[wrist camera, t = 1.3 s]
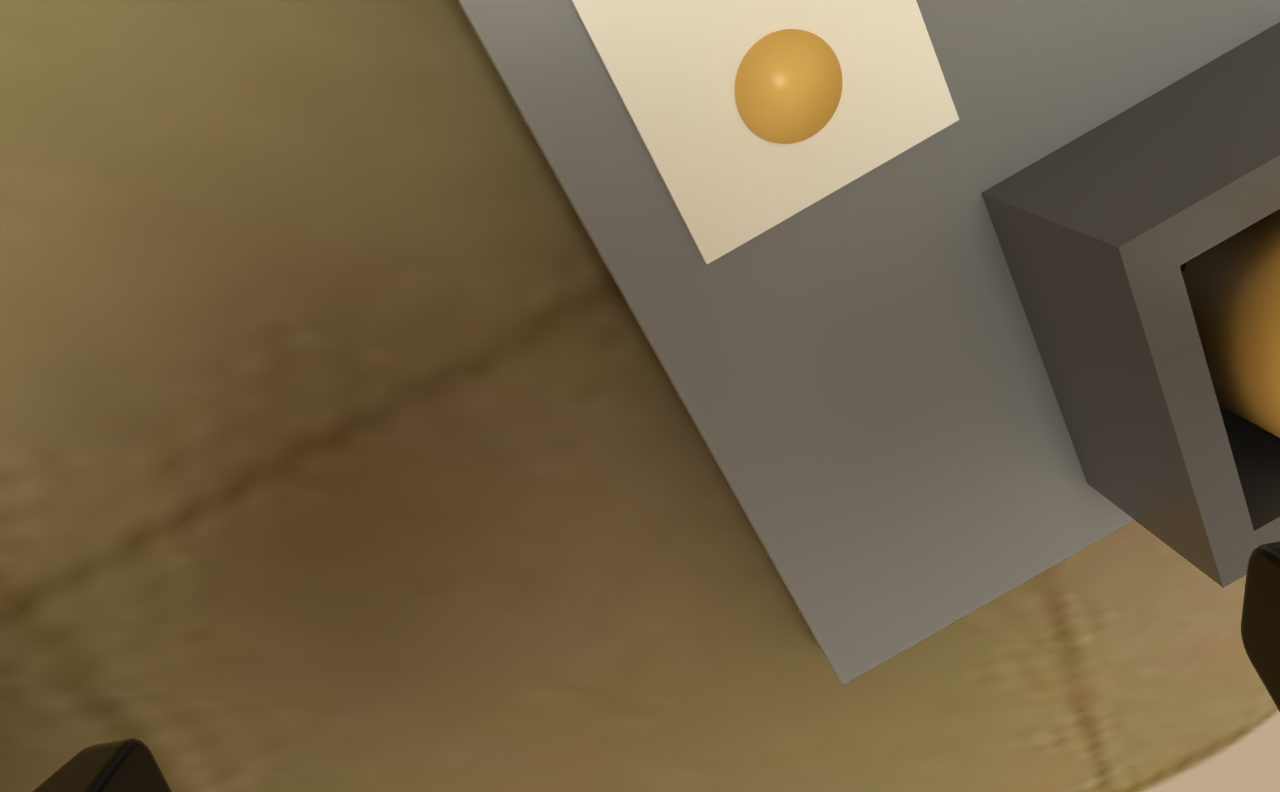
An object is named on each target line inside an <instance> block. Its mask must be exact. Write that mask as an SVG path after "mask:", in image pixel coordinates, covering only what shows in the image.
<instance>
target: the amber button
mask: <svg viewBox="0 0 1280 792" xmlns="http://www.w3.org/2000/svg"><path fill="white" fill-rule="evenodd" d="M1182 276H1183V280H1184V283H1185V287H1186V291H1187V294H1188V298H1189V301H1190V305H1191V308H1192V312H1193V315H1194V319H1195V323H1196V326H1197V330H1198V333H1199V337H1200V340H1201V344H1202V347H1203V351H1204V355H1205V358H1206V362H1207V365H1208V369H1209V372H1210V376H1211V379H1212V383H1213V387H1214V390H1215V394H1216V397H1217V401H1218V404H1219V405H1220V406H1222V407H1224V408H1226V409H1227V410H1229V411H1231V412H1233V413H1235V414H1237V415H1238V416H1240V417H1242V418H1244V419H1246V420H1248V421H1249V422H1251V423H1253V424H1255V425H1257V426H1259V427H1261V428H1262V429H1264V430H1266V431H1268V432H1270V433H1272V434H1273V435H1275V436H1277V437H1279V438H1280V209H1279V210H1277V211H1275V212H1273V213H1272V214H1270V215H1268V216H1266V217H1265V218H1263V219H1261V220H1259V221H1258V222H1256V223H1254V224H1252V225H1251V226H1249V227H1247V228H1245V229H1244V230H1242V231H1240V232H1238V233H1236V234H1235V235H1233V236H1231V237H1229V238H1228V239H1226V240H1224V241H1222V242H1221V243H1219V244H1217V245H1215V246H1214V247H1212V248H1210V249H1208V250H1207V251H1205V252H1203V253H1201V254H1200V255H1198V256H1196V257H1194V258H1193V259H1191V260H1189V261H1188V262H1187V264H1186V267H1185V269H1184V272H1183V274H1182Z"/></svg>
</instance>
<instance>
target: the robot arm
mask: <svg viewBox="0 0 1280 792" xmlns="http://www.w3.org/2000/svg"><path fill="white" fill-rule="evenodd" d="M1241 634H1242V640H1243V644H1244V647H1245V650H1246V653H1247V655H1248V657H1249V659H1250V661H1251V663H1252V664H1253V666H1254V668H1255V670H1256V671H1257V673H1258V675H1259V677H1260V678H1261V680H1262V682H1263V684H1264V685H1265V687H1266V689H1267V691H1268V692H1269V694H1270V696H1271V697H1272V699H1273V701H1274V703H1275V704H1276V706H1277V708H1278V710H1279V711H1280V541H1279V542H1274V543H1268V544H1263V545H1260V546H1259V547H1257V548H1255V549H1254V550H1253V551H1252V553H1251V555H1250V557H1249V561H1248V566H1247V575H1246V584H1245V593H1244V602H1243V611H1242V620H1241ZM33 792H172V791H171V789H170V787H169V786H168V784H167V782H166V780H165V778H164V776H163V774H162V772H161V770H160V768H159V766H158V764H157V762H156V761H155V759H154V757H153V755H152V753H151V751H150V750H149V748H148V747H147V745H145V744H144V743H143V742H142V741H140V740H137V739H125V740H119V741H113V742H108V743H102V744H96V745H93V746H89V747H87V748H85V749H83V750H82V751H81V752H79V753H78V754H77V755H76V756H74V757H73V758H72V759H71V760H70V761H68V762H67V763H66V764H65V765H64V766H62V767H61V768H60V769H59V770H58V771H56V772H55V773H54V774H53V775H52V776H51V777H49V778H48V779H47V780H46V781H45V782H43V783H42V784H41V785H40V786H39V787H37V788H36V789H35V790H34V791H33Z"/></svg>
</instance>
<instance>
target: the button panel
mask: <svg viewBox="0 0 1280 792" xmlns="http://www.w3.org/2000/svg"><path fill="white" fill-rule="evenodd" d="M457 2H458V3H459V5H460V7H461V9H462V10H463V12H464V14H465V16H466V18H467V19H468V21H469V23H470V25H471V27H472V28H473V30H474V32H475V34H476V35H477V37H478V39H479V41H480V43H481V44H482V46H483V48H484V50H485V52H486V53H487V55H488V57H489V59H490V60H491V62H492V64H493V66H494V68H495V69H496V71H497V73H498V75H499V76H500V78H501V80H502V82H503V84H504V85H505V87H506V89H507V91H508V93H509V94H510V96H511V98H512V100H513V101H514V103H515V105H516V107H517V109H518V110H519V112H520V114H521V116H522V118H523V119H524V121H525V123H526V125H527V126H528V128H529V130H530V132H531V134H532V135H533V137H534V139H535V141H536V142H537V144H538V146H539V148H540V150H541V151H542V153H543V155H544V157H545V159H546V160H547V162H548V164H549V166H550V167H551V169H552V171H553V173H554V175H555V176H556V178H557V180H558V182H559V183H560V185H561V187H562V189H563V191H564V192H565V194H566V196H567V198H568V200H569V201H570V203H571V205H572V207H573V208H574V210H575V212H576V214H577V216H578V217H579V219H580V221H581V223H582V225H583V226H584V228H585V230H586V232H587V233H588V235H589V237H590V239H591V241H592V242H593V244H594V246H595V248H596V249H597V251H598V253H599V255H600V257H601V258H602V260H603V262H604V264H605V266H606V267H607V269H608V271H609V273H610V274H611V276H612V278H613V280H614V282H615V283H616V285H617V287H618V289H619V291H620V292H621V294H622V296H623V298H624V299H625V301H626V303H627V305H628V307H629V308H630V310H631V312H632V314H633V315H634V317H635V319H636V321H637V323H638V324H639V326H640V328H641V330H642V332H643V333H644V335H645V337H646V339H647V340H648V342H649V344H650V346H651V348H652V349H653V351H654V353H655V355H656V356H657V358H658V360H659V362H660V364H661V365H662V367H663V369H664V371H665V373H666V374H667V376H668V378H669V380H670V381H671V383H672V385H673V387H674V389H675V390H676V392H677V394H678V396H679V398H680V399H681V401H682V403H683V405H684V406H685V408H686V410H687V412H688V414H689V415H690V417H691V419H692V421H693V422H694V424H695V426H696V428H697V430H698V431H699V433H700V435H701V437H702V439H703V440H704V442H705V444H706V446H707V447H708V449H709V451H710V453H711V455H712V456H713V458H714V460H715V462H716V464H717V465H718V467H719V469H720V471H721V472H722V474H723V476H724V478H725V480H726V481H727V483H728V485H729V487H730V488H731V490H732V492H733V494H734V496H735V497H736V499H737V501H738V503H739V505H740V506H741V508H742V510H743V512H744V513H745V515H746V517H747V519H748V521H749V522H750V524H751V526H752V528H753V529H754V531H755V533H756V535H757V537H758V538H759V540H760V542H761V544H762V546H763V547H764V549H765V551H766V553H767V554H768V556H769V558H770V560H771V562H772V563H773V565H774V567H775V569H776V571H777V572H778V574H779V576H780V578H781V579H782V581H783V583H784V585H785V587H786V588H787V590H788V592H789V594H790V595H791V597H792V599H793V601H794V603H795V604H796V606H797V608H798V610H799V612H800V613H801V615H802V617H803V619H804V620H805V622H806V624H807V626H808V628H809V629H810V631H811V633H812V635H813V637H814V638H815V640H816V642H817V644H818V645H819V647H820V649H821V650H822V652H823V654H824V655H825V657H826V659H827V660H828V662H829V664H830V665H831V667H832V669H833V670H834V672H835V674H836V675H837V677H838V679H839V680H840V682H841V684H842V685H845V684H846V683H848V682H850V681H852V680H853V679H855V678H857V677H859V676H860V675H862V674H864V673H866V672H867V671H869V670H871V669H873V668H875V667H876V666H878V665H880V664H882V663H883V662H885V661H887V660H889V659H890V658H892V657H894V656H896V655H897V654H899V653H901V652H903V651H905V650H906V649H908V648H910V647H912V646H913V645H915V644H917V643H919V642H920V641H922V640H924V639H926V638H927V637H929V636H931V635H933V634H934V633H936V632H938V631H940V630H942V629H943V628H945V627H947V626H949V625H950V624H952V623H954V622H956V621H957V620H959V619H961V618H963V617H964V616H966V615H968V614H970V613H972V612H973V611H975V610H977V609H979V608H980V607H982V606H984V605H986V604H987V603H989V602H991V601H993V600H994V599H996V598H998V597H1000V596H1002V595H1003V594H1005V593H1007V592H1009V591H1010V590H1012V589H1014V588H1016V587H1017V586H1019V585H1021V584H1023V583H1024V582H1026V581H1028V580H1030V579H1032V578H1033V577H1035V576H1037V575H1039V574H1040V573H1042V572H1044V571H1046V570H1047V569H1049V568H1051V567H1053V566H1054V565H1056V564H1058V563H1060V562H1061V561H1063V560H1065V559H1067V558H1069V557H1070V556H1072V555H1074V554H1076V553H1077V552H1079V551H1081V550H1083V549H1084V548H1086V547H1088V546H1090V545H1091V544H1093V543H1095V542H1097V541H1099V540H1100V539H1102V538H1104V537H1106V536H1107V535H1109V534H1111V533H1113V532H1114V531H1116V530H1118V529H1120V528H1121V527H1123V526H1125V525H1127V524H1129V523H1130V522H1132V521H1134V520H1135V521H1137V522H1138V523H1139V524H1141V525H1142V526H1143V527H1145V528H1146V529H1147V530H1149V531H1150V532H1151V533H1152V534H1154V535H1155V536H1156V537H1158V538H1159V539H1160V540H1162V541H1163V542H1164V543H1166V544H1167V545H1168V546H1170V547H1171V548H1172V549H1173V550H1175V551H1176V552H1177V553H1179V554H1180V555H1181V556H1183V557H1184V558H1185V559H1187V560H1188V561H1189V562H1190V563H1192V564H1193V565H1194V566H1196V567H1197V568H1198V569H1200V570H1201V571H1202V572H1204V573H1205V574H1206V575H1207V576H1209V577H1210V578H1211V579H1213V580H1214V581H1215V582H1217V583H1218V584H1219V585H1221V586H1222V587H1225V586H1227V585H1229V584H1230V583H1232V582H1234V581H1236V580H1237V579H1239V578H1241V577H1243V576H1244V575H1246V574H1247V566H1248V561H1249V557H1250V555H1251V553H1252V551H1253V550H1254V549H1255V548H1257V547H1259V546H1260V545H1263V544H1268V543H1274V542H1279V541H1280V438H1279V437H1277V436H1275V435H1273V434H1272V433H1270V432H1268V431H1266V430H1264V429H1262V428H1261V427H1259V426H1257V425H1255V424H1253V423H1251V422H1249V421H1248V420H1246V419H1244V418H1242V417H1240V416H1238V415H1237V414H1235V413H1233V412H1231V411H1229V410H1227V409H1226V408H1224V407H1222V406H1220V405H1219V404H1218V401H1217V397H1216V394H1215V390H1214V387H1213V383H1212V379H1211V376H1210V372H1209V369H1208V365H1207V362H1206V358H1205V355H1204V351H1203V347H1202V344H1201V340H1200V337H1199V333H1198V330H1197V326H1196V323H1195V319H1194V315H1193V312H1192V308H1191V305H1190V301H1189V298H1188V294H1187V291H1186V287H1185V283H1184V280H1183V276H1182V274H1183V272H1184V269H1185V267H1186V264H1187V262H1188V261H1189V260H1191V259H1193V258H1194V257H1196V256H1198V255H1200V254H1201V253H1203V252H1205V251H1207V250H1208V249H1210V248H1212V247H1214V246H1215V245H1217V244H1219V243H1221V242H1222V241H1224V240H1226V239H1228V238H1229V237H1231V236H1233V235H1235V234H1236V233H1238V232H1240V231H1242V230H1244V229H1245V228H1247V227H1249V226H1251V225H1252V224H1254V223H1256V222H1258V221H1259V220H1261V219H1263V218H1265V217H1266V216H1268V215H1270V214H1272V213H1273V212H1275V211H1277V210H1279V209H1280V0H457Z"/></svg>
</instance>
